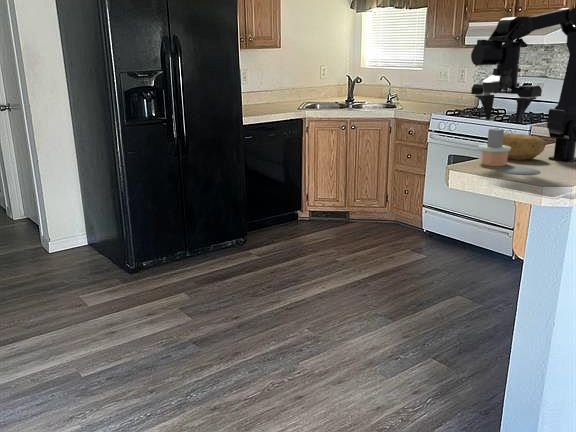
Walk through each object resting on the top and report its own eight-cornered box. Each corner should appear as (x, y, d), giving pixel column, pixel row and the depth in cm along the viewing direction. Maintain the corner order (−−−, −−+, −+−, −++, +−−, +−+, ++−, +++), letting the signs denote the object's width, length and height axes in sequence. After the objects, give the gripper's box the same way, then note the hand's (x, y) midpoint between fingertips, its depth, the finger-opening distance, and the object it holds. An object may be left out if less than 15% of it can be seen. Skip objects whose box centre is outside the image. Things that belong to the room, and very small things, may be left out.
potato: (537, 165, 162) (540, 138, 160) (490, 159, 171) (492, 133, 169) (548, 160, 169) (551, 134, 167) (502, 155, 178) (504, 130, 176)
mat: (511, 166, 160) (511, 165, 160) (548, 172, 152) (548, 171, 152) (489, 171, 154) (489, 170, 154) (527, 178, 146) (527, 177, 146)
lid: (489, 145, 168) (491, 126, 166) (517, 149, 161) (519, 129, 160) (471, 149, 163) (473, 129, 161) (499, 153, 156) (501, 132, 154)
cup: (489, 161, 168) (490, 146, 167) (510, 164, 163) (512, 149, 161) (475, 164, 164) (477, 149, 163) (497, 168, 159) (498, 152, 157)
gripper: (461, 65, 157) (457, 120, 162) (523, 66, 143) (517, 126, 148) (484, 64, 164) (480, 117, 168) (545, 64, 150) (539, 123, 154)
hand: (502, 121), depth 159 cm, fingers open, 9 cm apart
